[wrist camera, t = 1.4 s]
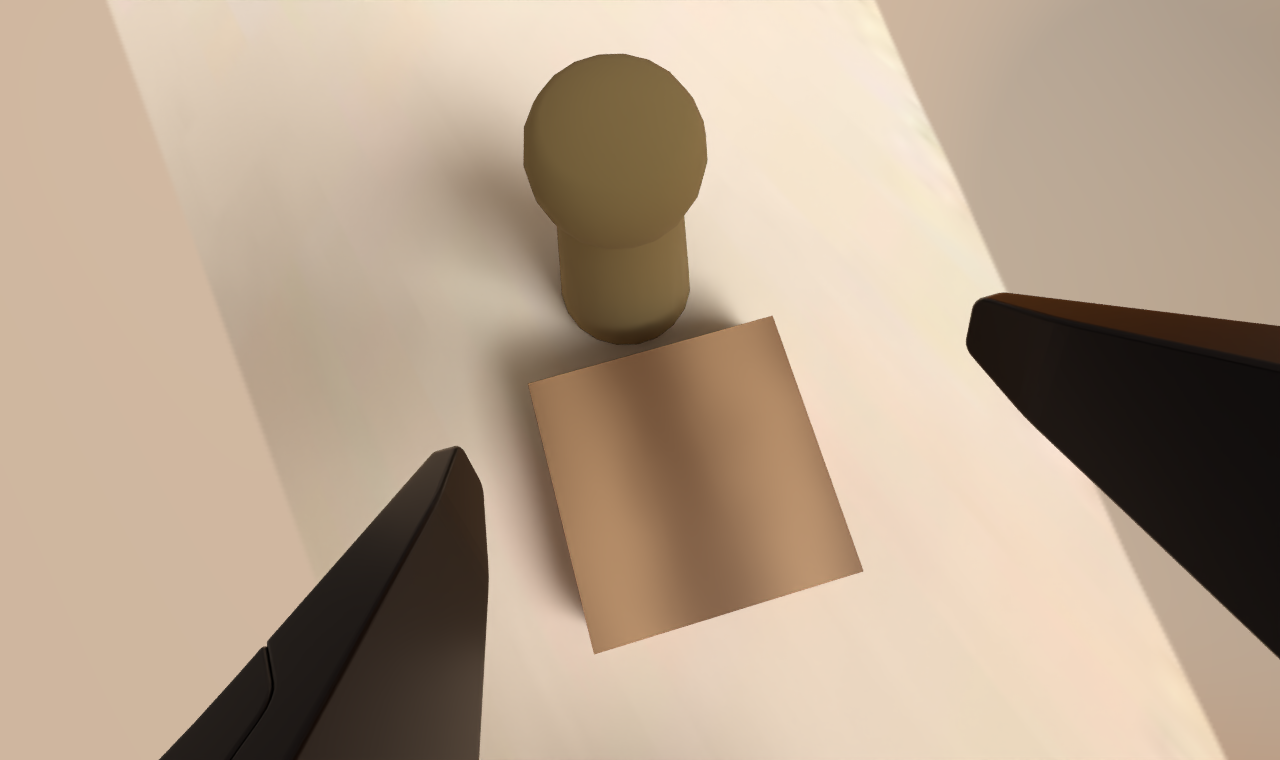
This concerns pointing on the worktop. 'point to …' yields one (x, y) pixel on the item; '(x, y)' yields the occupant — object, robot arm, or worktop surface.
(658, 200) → the cork
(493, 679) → the worktop surface
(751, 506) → the base block
